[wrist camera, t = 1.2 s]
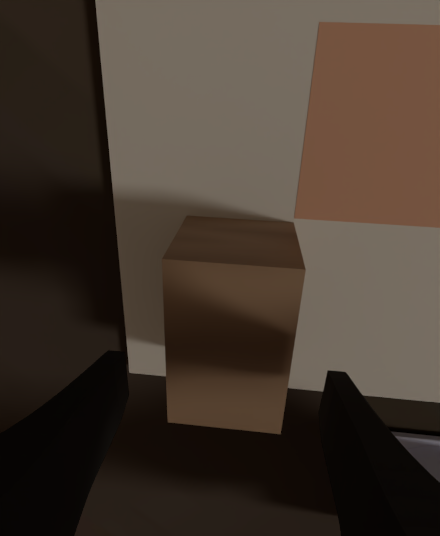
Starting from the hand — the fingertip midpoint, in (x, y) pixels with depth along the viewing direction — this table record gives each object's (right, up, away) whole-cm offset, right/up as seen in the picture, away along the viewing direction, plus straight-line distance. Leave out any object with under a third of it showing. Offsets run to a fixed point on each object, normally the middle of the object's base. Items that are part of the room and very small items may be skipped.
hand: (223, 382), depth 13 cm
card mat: (+4, +6, +4) cm, 9 cm away
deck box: (+1, +3, +6) cm, 7 cm away
